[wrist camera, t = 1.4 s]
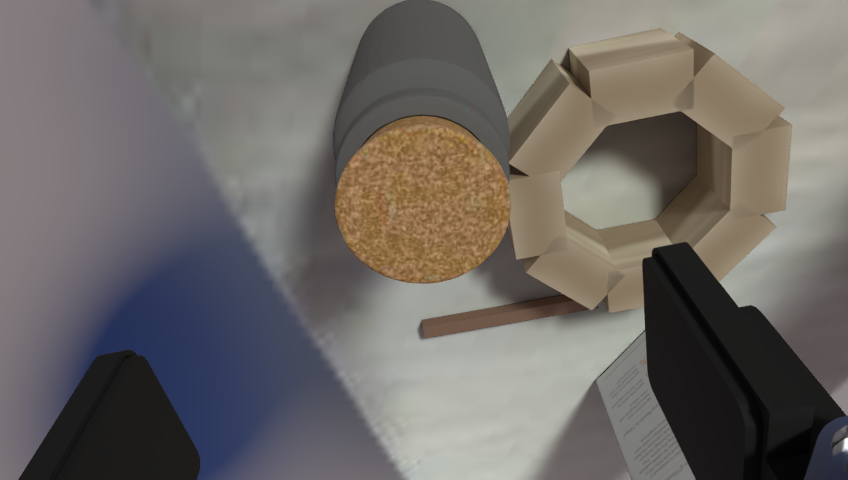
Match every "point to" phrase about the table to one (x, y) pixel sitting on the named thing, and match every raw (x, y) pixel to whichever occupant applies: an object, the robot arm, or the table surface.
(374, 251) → the bottle
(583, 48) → the segmented wooden ring
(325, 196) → the table surface
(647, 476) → the small box
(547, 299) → the brown wooden stick
